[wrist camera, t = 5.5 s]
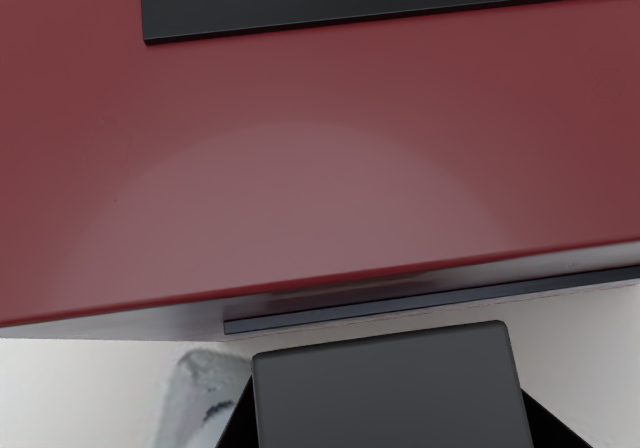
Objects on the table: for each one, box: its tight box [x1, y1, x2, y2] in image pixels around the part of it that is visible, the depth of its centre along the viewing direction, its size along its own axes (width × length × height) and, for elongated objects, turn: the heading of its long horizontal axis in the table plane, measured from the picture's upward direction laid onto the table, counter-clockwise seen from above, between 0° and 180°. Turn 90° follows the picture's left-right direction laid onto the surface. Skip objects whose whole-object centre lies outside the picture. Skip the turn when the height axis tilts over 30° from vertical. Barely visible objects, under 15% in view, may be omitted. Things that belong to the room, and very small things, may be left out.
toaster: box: [0, 0, 640, 342], centre depth 12 cm, size 9×15×13 cm, turn 98°
